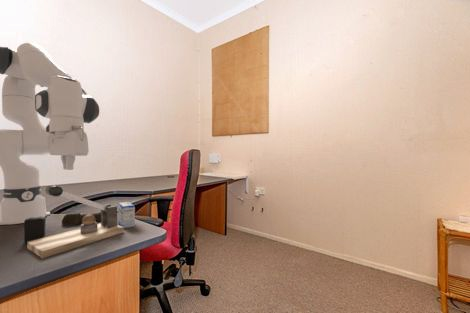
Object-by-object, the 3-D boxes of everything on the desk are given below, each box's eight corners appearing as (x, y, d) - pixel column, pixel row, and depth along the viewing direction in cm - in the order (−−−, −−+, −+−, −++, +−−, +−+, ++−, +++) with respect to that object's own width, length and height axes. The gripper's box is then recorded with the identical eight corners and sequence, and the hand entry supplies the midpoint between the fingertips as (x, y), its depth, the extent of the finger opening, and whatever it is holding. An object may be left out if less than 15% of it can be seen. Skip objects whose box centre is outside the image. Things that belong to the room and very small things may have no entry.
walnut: (80, 226, 79) (79, 214, 79) (92, 223, 82) (92, 212, 82) (85, 228, 76) (85, 216, 76) (98, 225, 80) (97, 214, 80)
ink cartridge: (45, 239, 77) (45, 216, 77) (43, 241, 75) (44, 217, 75) (26, 241, 75) (26, 217, 75) (24, 244, 73) (24, 219, 73)
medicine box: (118, 223, 94) (117, 202, 94) (129, 221, 97) (129, 201, 96) (123, 228, 88) (122, 206, 87) (135, 226, 91) (134, 204, 90)
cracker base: (27, 248, 70) (26, 217, 70) (106, 226, 90) (105, 202, 90) (42, 258, 64) (41, 224, 63) (123, 232, 84) (123, 206, 83)
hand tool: (115, 218, 102) (115, 207, 102) (115, 220, 98) (114, 210, 98) (63, 224, 94) (63, 213, 94) (61, 227, 90) (61, 215, 90)
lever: (43, 192, 70) (49, 183, 71) (106, 213, 86) (110, 206, 88) (48, 194, 68) (54, 185, 69) (112, 215, 84) (116, 207, 85)
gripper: (93, 126, 70) (94, 170, 71) (65, 129, 81) (66, 167, 82) (70, 124, 65) (71, 171, 65) (43, 128, 76) (44, 169, 76)
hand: (68, 169), depth 74 cm, fingers closed
